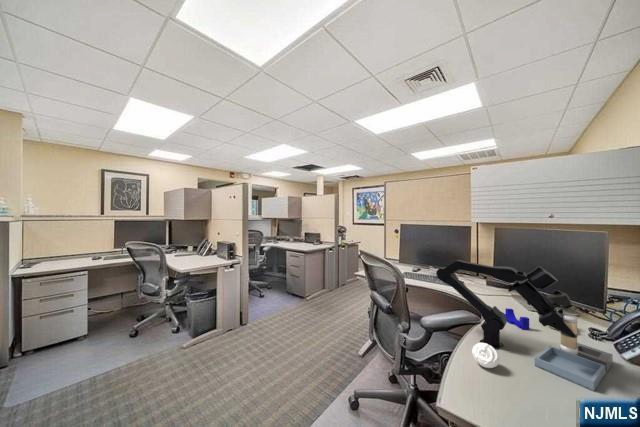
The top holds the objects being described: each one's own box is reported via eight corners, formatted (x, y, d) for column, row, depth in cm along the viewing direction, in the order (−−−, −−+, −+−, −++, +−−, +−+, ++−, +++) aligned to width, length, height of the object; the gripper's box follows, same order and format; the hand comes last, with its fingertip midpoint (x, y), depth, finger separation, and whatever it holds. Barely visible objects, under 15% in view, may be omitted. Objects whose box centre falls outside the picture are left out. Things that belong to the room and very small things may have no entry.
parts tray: (593, 391, 70) (593, 381, 70) (534, 365, 82) (534, 357, 82) (605, 374, 78) (605, 365, 78) (550, 353, 90) (549, 345, 90)
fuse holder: (606, 372, 79) (606, 362, 79) (565, 357, 88) (565, 348, 88) (612, 363, 84) (612, 354, 84) (573, 349, 93) (573, 341, 93)
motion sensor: (469, 364, 83) (469, 343, 83) (476, 356, 88) (476, 336, 88) (495, 376, 77) (495, 353, 77) (502, 367, 81) (501, 346, 82)
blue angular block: (502, 319, 121) (502, 308, 122) (511, 319, 121) (511, 308, 121) (519, 330, 110) (519, 317, 110) (529, 330, 109) (529, 318, 109)
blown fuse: (570, 355, 78) (569, 317, 79) (556, 348, 82) (556, 312, 83) (581, 354, 78) (581, 317, 79) (567, 348, 83) (567, 312, 83)
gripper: (551, 289, 77) (603, 333, 69) (552, 279, 90) (596, 316, 82) (521, 305, 83) (565, 348, 75) (526, 294, 96) (564, 329, 87)
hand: (574, 334), depth 80 cm, fingers closed on blown fuse, 4 cm apart
